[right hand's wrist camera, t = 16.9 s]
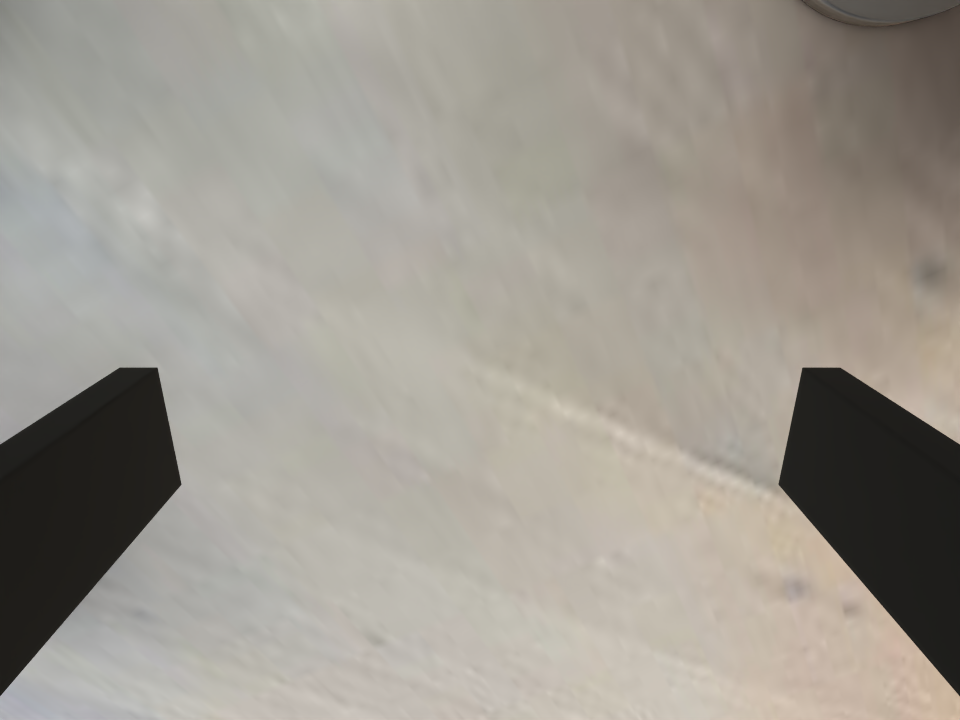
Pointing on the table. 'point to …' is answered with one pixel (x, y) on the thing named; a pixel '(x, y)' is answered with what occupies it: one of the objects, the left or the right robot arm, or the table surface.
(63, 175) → the table surface
